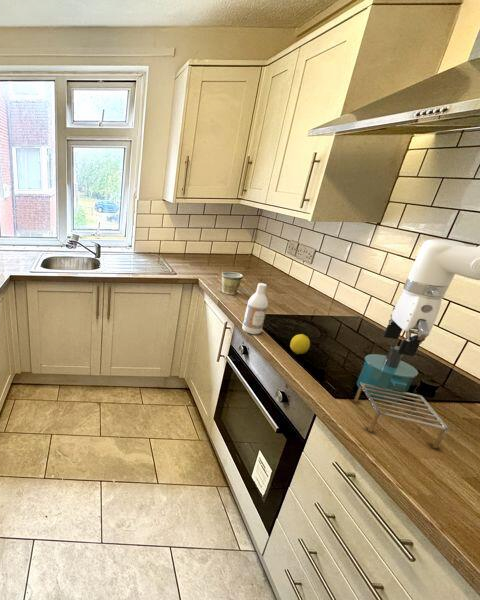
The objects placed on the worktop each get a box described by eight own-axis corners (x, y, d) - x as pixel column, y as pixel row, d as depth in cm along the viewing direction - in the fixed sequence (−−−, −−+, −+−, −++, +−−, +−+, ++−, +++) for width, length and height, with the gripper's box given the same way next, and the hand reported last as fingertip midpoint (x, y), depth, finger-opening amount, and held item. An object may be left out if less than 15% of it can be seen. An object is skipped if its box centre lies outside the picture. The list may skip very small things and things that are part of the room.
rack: (412, 413, 84) (421, 395, 82) (438, 449, 73) (450, 429, 71) (352, 399, 89) (359, 382, 87) (368, 431, 78) (377, 412, 76)
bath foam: (245, 334, 125) (256, 287, 117) (239, 326, 131) (249, 281, 124) (263, 335, 124) (276, 287, 117) (256, 327, 131) (267, 281, 123)
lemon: (305, 352, 112) (312, 333, 109) (306, 360, 108) (313, 339, 105) (287, 348, 115) (293, 329, 112) (287, 355, 111) (293, 335, 107)
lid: (405, 362, 93) (414, 343, 90) (424, 384, 83) (435, 363, 81) (358, 353, 97) (365, 335, 94) (371, 373, 88) (380, 353, 85)
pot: (390, 380, 98) (401, 356, 95) (414, 412, 85) (428, 387, 81) (349, 371, 102) (358, 349, 99) (366, 401, 89) (377, 376, 85)
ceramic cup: (215, 292, 168) (218, 274, 165) (223, 287, 175) (227, 270, 171) (239, 299, 159) (243, 280, 156) (248, 294, 166) (252, 276, 162)
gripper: (464, 303, 72) (431, 365, 79) (426, 280, 87) (401, 334, 93) (421, 297, 75) (392, 358, 82) (391, 276, 90) (369, 329, 96)
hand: (397, 345), depth 88 cm, fingers open, 9 cm apart
